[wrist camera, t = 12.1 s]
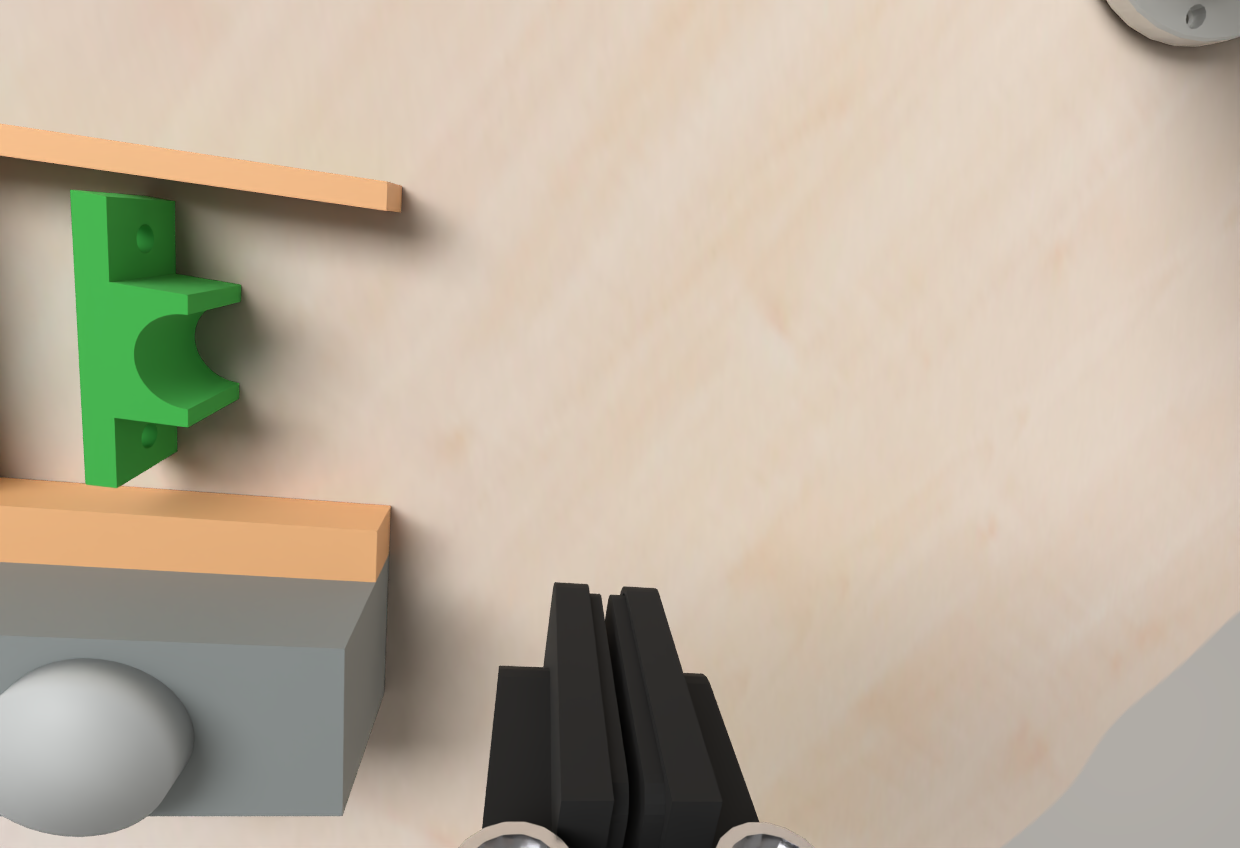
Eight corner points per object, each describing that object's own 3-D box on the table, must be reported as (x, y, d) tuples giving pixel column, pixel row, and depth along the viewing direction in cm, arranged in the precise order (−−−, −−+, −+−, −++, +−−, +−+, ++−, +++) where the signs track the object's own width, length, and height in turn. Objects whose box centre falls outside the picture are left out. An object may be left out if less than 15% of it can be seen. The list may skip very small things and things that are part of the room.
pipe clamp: (240, 457, 28) (188, 498, 23) (154, 446, 27) (85, 486, 23) (244, 212, 25) (185, 211, 20) (147, 194, 24) (66, 189, 20)
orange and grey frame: (-93, 112, 22) (-454, 46, 14) (402, 186, 25) (334, 166, 17) (6, 682, 29) (-198, 856, 21) (384, 693, 32) (330, 851, 24)
